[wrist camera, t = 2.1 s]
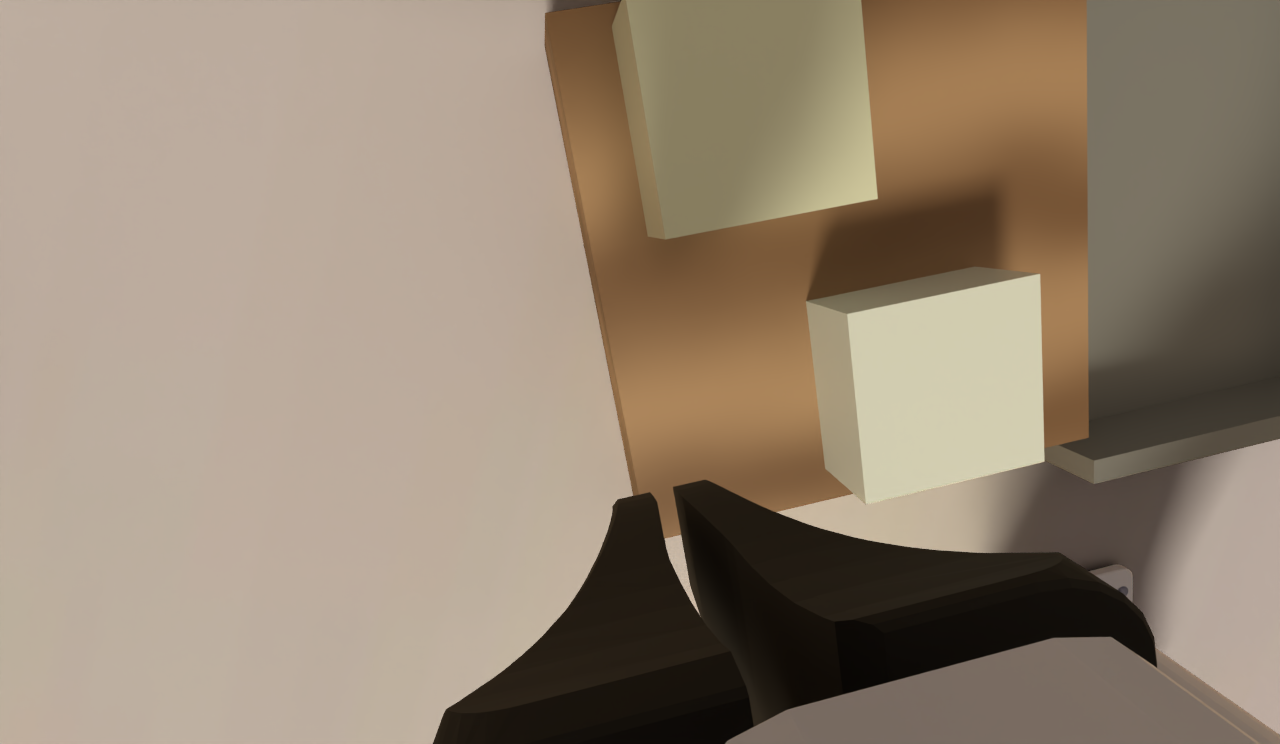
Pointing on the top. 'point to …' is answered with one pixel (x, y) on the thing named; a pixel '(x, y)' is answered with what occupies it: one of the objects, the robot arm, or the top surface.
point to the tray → (1180, 233)
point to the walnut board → (833, 238)
